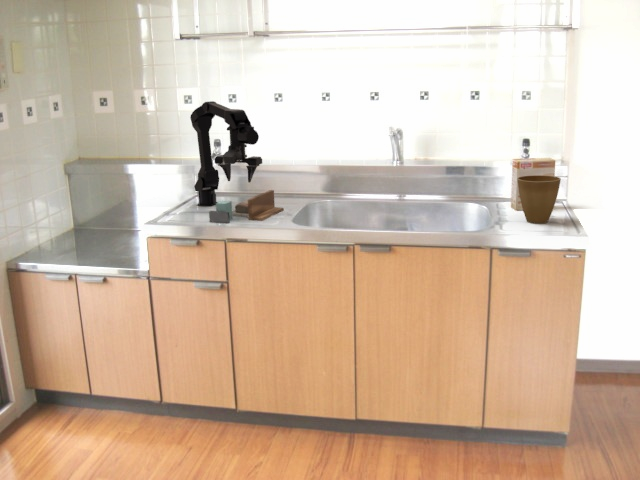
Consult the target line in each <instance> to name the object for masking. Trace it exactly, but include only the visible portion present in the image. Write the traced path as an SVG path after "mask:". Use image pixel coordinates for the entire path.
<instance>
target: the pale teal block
mask: <svg viewBox="0 0 640 480" xmlns="http://www.w3.org/2000/svg"><path fill="white" fill-rule="evenodd" d="M232 204H233V202H232V201H230V200H221V201H219V202H217V203H216V204H215V207H216V211H218V212H229V217H230V221H231V220H233V216H232V211H233V205H232Z"/></svg>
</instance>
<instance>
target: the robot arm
mask: <svg viewBox="0 0 640 480" xmlns="http://www.w3.org/2000/svg"><path fill="white" fill-rule="evenodd" d="M215 117H219V118H221V119H223V120H224V122H225V124H227V125H228V127H227V128H226V130H227V131H229V145H228V147H227V149H228V150H227V151H225V152H224V153H223V154H220V155H217V156H215V157H214V164H217V166H219V167H220V168H221V169H222V170H223V172H224V175H225V177H226V180H227V182H230V181H231V179H232V178H231V177H232V175H231V174H232V171H231V170H232V165H234V164H236V163H243V164H246V169H247V181H248V183H250V184H251V181H252V179H253V176H254V174H255V171H256V170H257V168H258V167H259V166H260V165H262V164H263V158H262V156H249V157H248V155H247V154H246V148H247V147H248V146H247V145H256V144H257V142H258V141H259V136H260V135H259V134H258V132H257V130H255V127H254V126H252V124H251V121H250V120H249V117H248V115H247V114H246V111H245V110H244V109H238V108H236V109H235V108H229V107H227V106H224V105H222V104H219V103H217V102H216V101H213V100H210V101H204V102H203V103H202V105H200V106H198V107H197V108H195V109H194V110H193V111H192V113H191V114H190V117H189V118H190V121H191V125H192V126H191V127H192V128H193V129H194V130H195V132H196V136H197V144H198V153H199V154H198V155H199V162H200V168H199V171H198V173H197V180H196V182H195V184H194V186H193V188H194V192H198V203H197V206H201V207H202V206H205V207H212V206H214V205H216V203H218V202H217V193H215V192H216V190H217V191H218V190H219V183H220V176H219V170H218V169H216V167H215V166H214V165H213V157H212V147H211V138H210V130H211V128H212V125H213V119H214V118H215Z"/></svg>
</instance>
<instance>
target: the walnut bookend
mask: <svg viewBox="0 0 640 480" xmlns="http://www.w3.org/2000/svg"><path fill="white" fill-rule="evenodd" d="M247 200H248V213H249V217H248V220H249V221H259V222H263V221H264V220H267V219H269V218H270V217H273V216H274V215H277V214H278V213H280V212H282V211H284V207H279V206H277V207H276V206H275V190H274V189H271V190H268V191H264V192H262V193H260V194H258V195H255V196H253V197H250V198H248V199H247Z"/></svg>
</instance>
